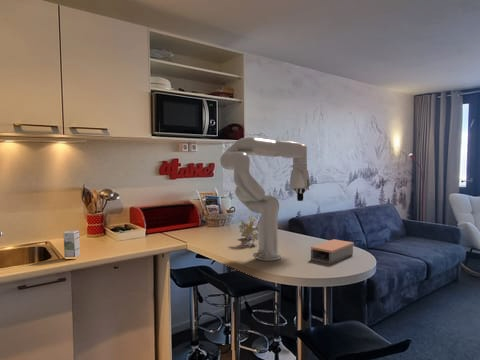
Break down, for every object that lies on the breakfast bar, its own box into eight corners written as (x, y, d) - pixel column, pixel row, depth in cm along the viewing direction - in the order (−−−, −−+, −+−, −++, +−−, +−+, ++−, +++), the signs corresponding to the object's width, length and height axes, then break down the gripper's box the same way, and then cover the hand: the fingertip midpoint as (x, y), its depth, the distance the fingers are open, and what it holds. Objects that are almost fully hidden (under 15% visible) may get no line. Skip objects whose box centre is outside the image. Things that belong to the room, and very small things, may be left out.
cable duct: (330, 264, 158) (330, 253, 158) (310, 259, 166) (310, 249, 166) (352, 254, 174) (352, 244, 174) (333, 250, 182) (333, 241, 181)
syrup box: (80, 256, 180) (79, 229, 179) (75, 259, 174) (74, 232, 173) (69, 256, 180) (68, 230, 179) (64, 260, 174) (62, 232, 173)
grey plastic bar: (324, 259, 163) (324, 255, 163) (321, 258, 164) (321, 254, 164) (342, 251, 176) (342, 248, 176) (339, 251, 177) (339, 247, 177)
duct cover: (331, 253, 158) (331, 250, 158) (310, 248, 166) (310, 246, 166) (353, 244, 173) (353, 242, 173) (333, 241, 181) (333, 239, 181)
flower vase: (243, 248, 216) (242, 248, 192) (237, 220, 220) (236, 216, 196) (263, 244, 217) (265, 243, 192) (256, 216, 221) (258, 212, 196)
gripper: (284, 167, 186) (285, 200, 187) (307, 167, 176) (308, 202, 177) (292, 167, 192) (293, 199, 192) (315, 167, 181) (315, 201, 182)
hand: (300, 200), depth 185 cm, fingers closed
